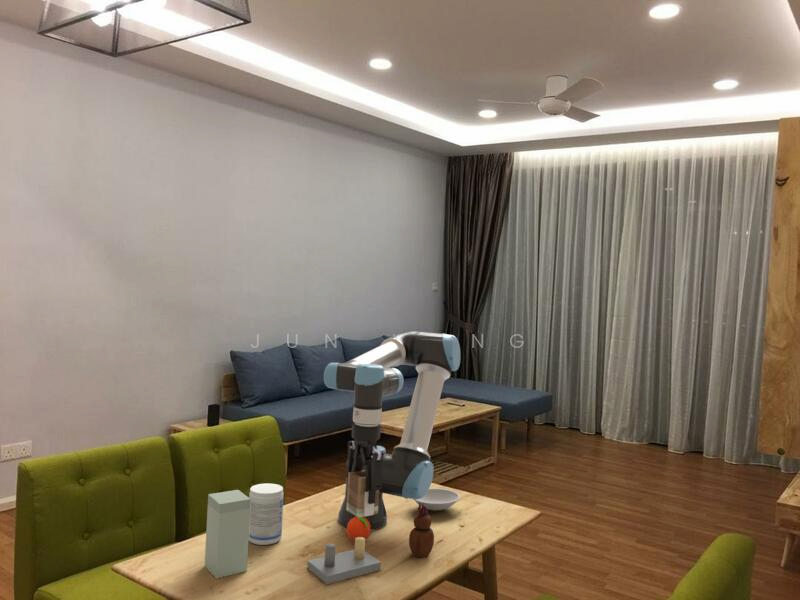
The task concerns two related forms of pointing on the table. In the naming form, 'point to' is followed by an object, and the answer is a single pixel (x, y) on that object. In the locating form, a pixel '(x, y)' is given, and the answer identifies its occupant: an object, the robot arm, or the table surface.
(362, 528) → the clementine
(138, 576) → the table surface
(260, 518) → the supplement tub
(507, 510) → the table surface
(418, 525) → the wooden figurine
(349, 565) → the pin board
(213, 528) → the tower
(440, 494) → the dish
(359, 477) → the sleeve
